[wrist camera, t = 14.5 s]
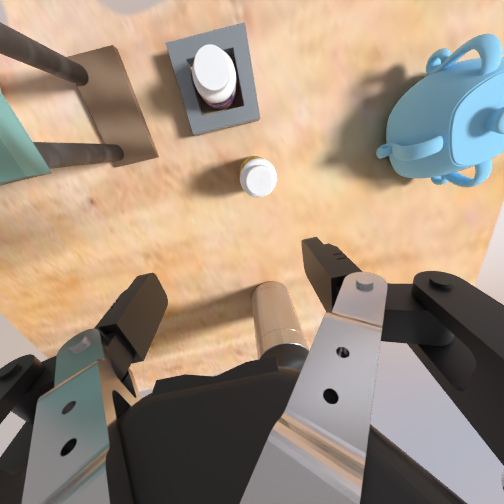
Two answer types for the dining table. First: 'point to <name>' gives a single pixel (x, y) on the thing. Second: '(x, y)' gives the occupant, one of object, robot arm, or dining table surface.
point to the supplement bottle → (257, 176)
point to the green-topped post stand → (96, 99)
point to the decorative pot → (450, 117)
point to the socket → (237, 46)
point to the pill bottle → (214, 77)
